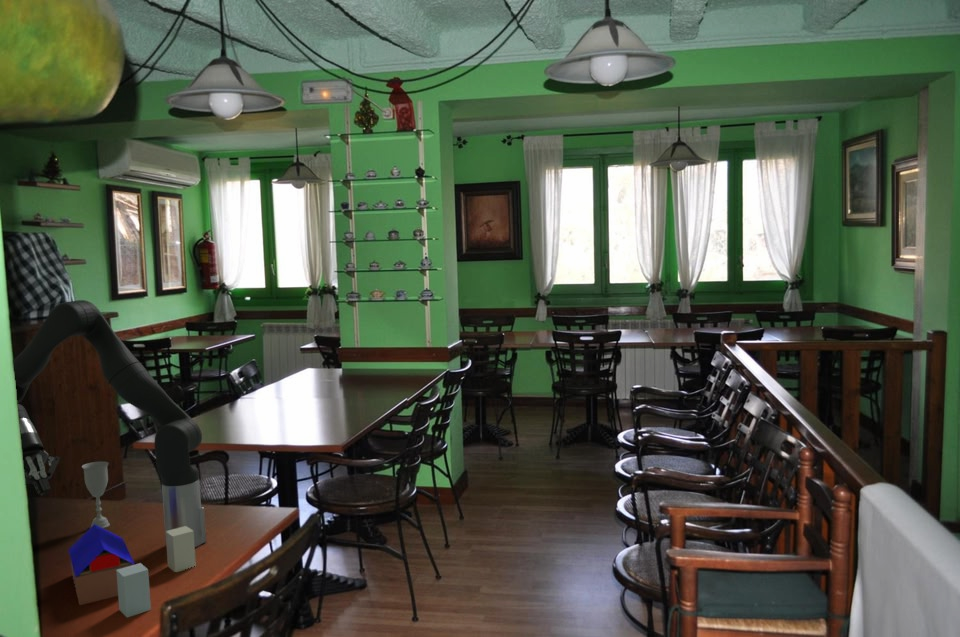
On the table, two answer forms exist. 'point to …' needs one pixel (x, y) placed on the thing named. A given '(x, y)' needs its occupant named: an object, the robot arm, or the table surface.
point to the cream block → (180, 548)
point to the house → (98, 564)
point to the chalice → (97, 487)
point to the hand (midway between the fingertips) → (45, 493)
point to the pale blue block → (133, 590)
